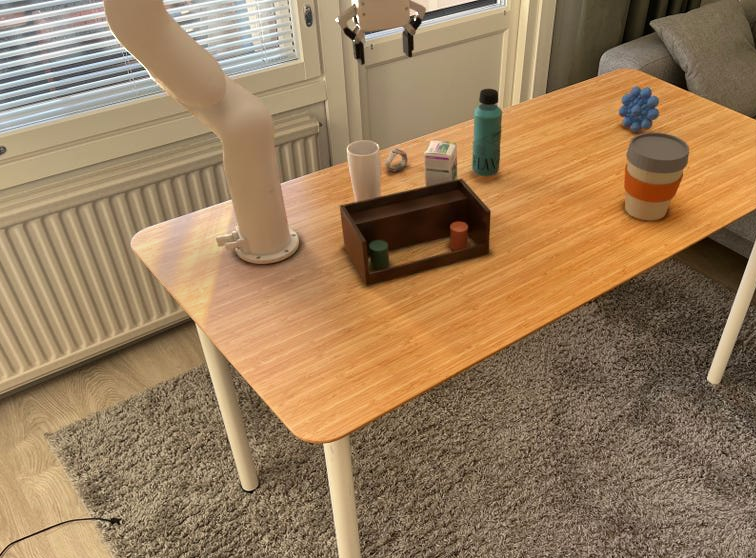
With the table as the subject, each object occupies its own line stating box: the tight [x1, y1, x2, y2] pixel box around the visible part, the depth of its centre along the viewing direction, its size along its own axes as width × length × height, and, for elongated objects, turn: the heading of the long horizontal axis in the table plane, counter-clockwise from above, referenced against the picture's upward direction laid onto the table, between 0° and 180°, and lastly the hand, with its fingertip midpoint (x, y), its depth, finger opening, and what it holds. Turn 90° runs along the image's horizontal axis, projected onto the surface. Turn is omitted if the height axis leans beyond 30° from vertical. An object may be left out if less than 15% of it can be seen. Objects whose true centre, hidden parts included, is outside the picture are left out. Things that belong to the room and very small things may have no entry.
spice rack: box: [339, 178, 492, 286], centre depth 139 cm, size 26×13×10 cm, turn 115°
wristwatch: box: [384, 147, 408, 173], centre depth 165 cm, size 4×6×5 cm, turn 140°
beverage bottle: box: [471, 88, 503, 177], centre depth 158 cm, size 6×7×20 cm
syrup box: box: [423, 140, 458, 187], centre depth 149 cm, size 6×6×14 cm
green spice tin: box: [369, 240, 390, 272], centre depth 137 cm, size 4×4×5 cm
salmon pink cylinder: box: [449, 222, 469, 251], centre depth 143 cm, size 4×4×5 cm
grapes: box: [618, 86, 660, 133], centre depth 178 cm, size 12×7×12 cm, turn 42°
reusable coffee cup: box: [623, 131, 690, 221], centre depth 150 cm, size 13×13×15 cm
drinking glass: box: [346, 139, 382, 202], centre depth 148 cm, size 7×7×15 cm
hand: (384, 58), depth 137 cm, fingers open, 9 cm apart
